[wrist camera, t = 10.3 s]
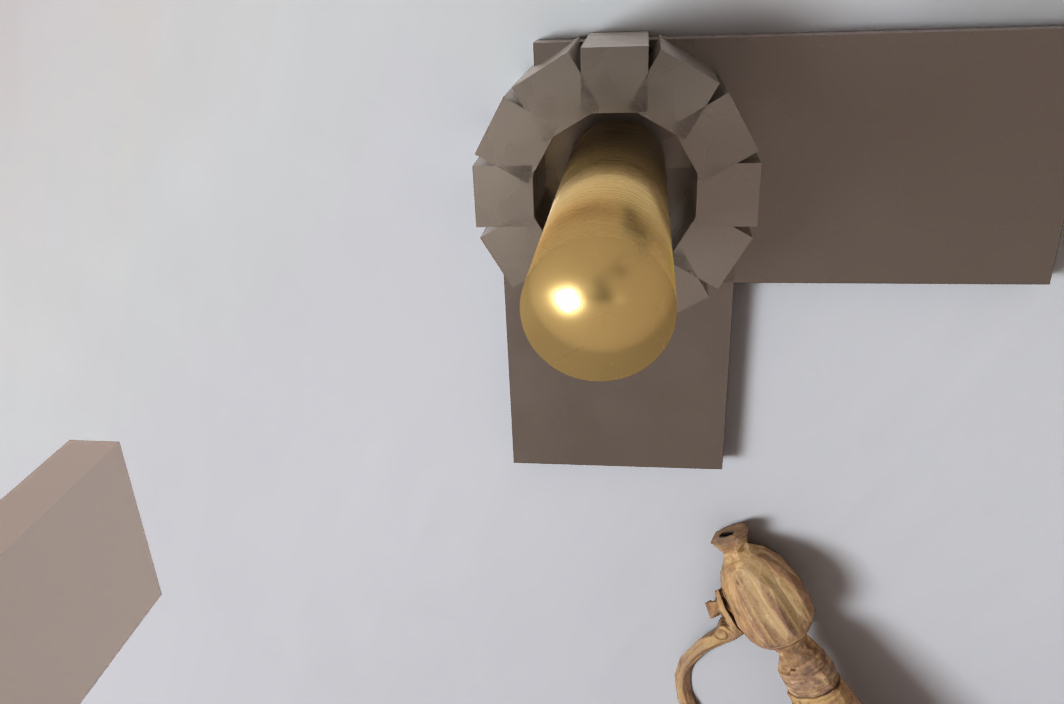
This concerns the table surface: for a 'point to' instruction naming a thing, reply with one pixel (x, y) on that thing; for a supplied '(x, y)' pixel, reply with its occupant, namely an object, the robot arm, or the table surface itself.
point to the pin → (604, 260)
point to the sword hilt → (766, 621)
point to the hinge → (773, 194)
